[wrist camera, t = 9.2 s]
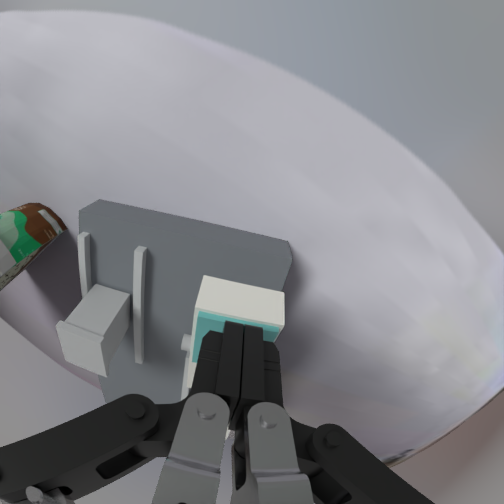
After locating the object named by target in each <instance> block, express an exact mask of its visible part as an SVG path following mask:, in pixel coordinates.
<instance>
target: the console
mask: <svg viewBox="0 0 504 504" xmlns="http://www.w3.org/2000/svg"><path fill="white" fill-rule="evenodd" d="M77 237H78V259H79V272H80V283H81V292H82V299H83V298H84V297H85V296H86V294H87V293H88V292H89V291H90V290H91V289H92V287H93V286H94V285H95V284H98V285H101V286H105V287H108V288H111V289H114V290H118V291H121V292H125V293H128V294H130V326H129V328H128V329H127V331H126V333H125V335H124V337H123V339H122V341H121V342H120V344H119V346H118V348H117V350H116V352H115V354H114V356H113V358H112V360H111V362H110V364H109V369H110V372H109V374H108V376H107V377H104V376H101V375H99V374H98V377H99V380H100V384H101V388H102V391H103V395H104V398H105V402H106V403H109V402H112V401H114V400H116V399H118V398H120V397H122V396H124V395H127V394H140V395H143V396H146V397H148V398H149V399H151V400H152V401H153V402H154V403H155V404H172V403H177V402H179V401H181V400H183V399H185V398H186V397H187V396H188V394H189V393H190V391H191V388H188V387H187V378H188V366H189V356H190V352H189V351H185V350H181V345H182V340H183V336H184V334H188V335H192V327H193V318H194V310H195V305H196V301H197V297H198V294H199V290H200V286H201V283H202V279H203V276H204V275H206V276H211V277H215V278H219V279H224V280H228V281H233V282H237V283H242V284H247V285H251V286H256V287H261V288H265V289H270V290H275V291H280V292H281V291H282V289H283V286H284V283H285V280H286V277H287V274H288V272H289V269H290V266H291V263H292V260H293V259H292V255H291V251H290V248H289V244H288V241H285V240H280V239H276V238H272V237H268V236H264V235H259V234H255V233H251V232H247V231H242V230H238V229H234V228H229V227H225V226H220V225H216V224H212V223H207V222H203V221H198V220H194V219H189V218H185V217H180V216H176V215H171V214H166V213H162V212H157V211H152V210H148V209H143V208H138V207H134V206H129V205H124V204H119V203H114V202H109V201H104V200H100V199H99V200H97V201H96V202H94V203H92V204H90V205H88V206H87V207H85V208H83V209H81V210H79V235H78V236H77Z"/></svg>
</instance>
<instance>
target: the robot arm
mask: <svg viewBox="0 0 504 504" xmlns="http://www.w3.org/2000/svg"><path fill="white" fill-rule="evenodd" d="M227 427H228V430H234V431H235V439H234V442H233V444H232V450H231V452H232V487H233V488H232V496H231V502H230V504H314V503H315V504H435V503H433V502H432V501H431V500H429V499H428V498H426V497H425V496H424V495H422V494H421V493H420V492H418V491H417V490H416V489H415V488H413V487H412V486H411V485H409V484H408V483H407V482H406V481H404V480H403V479H402V478H400V477H399V476H398V475H397V474H395V473H394V472H393V471H392V470H390V469H389V468H388V467H387V466H386V465H385V464H383V463H382V462H381V461H380V460H379V459H377V458H376V457H375V456H374V455H373V454H372V453H370V452H369V451H368V450H367V449H366V448H365V447H363V446H362V445H361V444H360V443H359V442H358V441H357V440H356V439H354V438H353V437H352V436H351V435H350V434H349V433H348V432H347V431H346V430H344V429H343V428H342V427H340V426H338V425H335V424H324V425H321V426H319V427H318V428H317V429H316V428H313V427H310V426H307V425H304V424H301V423H299V422H297V421H295V420H293V419H292V418H291V417H290V416H289V415H288V413H287V412H286V411H285V409H284V406H283V398H282V385H281V373H280V359H279V351H278V350H277V348H276V346H275V344H274V343H273V342H270V341H264V340H263V328H262V327H258V326H252V325H247V324H244V325H243V324H242V323H237V322H232V321H227V320H225V323H224V328H223V332H222V333H221V332H217V331H212V330H209V332H208V333H207V334H206V335H205V336H204V337H203V338H202V342H201V347H200V351H199V356H198V360H197V364H196V369H195V373H194V378H193V383H192V387H191V391H190V393H189V394H188V396H187V397H186V398H185V399H183V400H181V401H179V402H177V403H172V404H155V403H154V402H153V401H152V400H151V399H149V398H148V397H146V396H143V395H140V394H127V395H124V396H122V397H120V398H118V399H116V400H114V401H112V402H109V403H107V404H105V405H103V406H101V407H99V408H97V409H95V410H93V411H91V412H88V413H86V414H84V415H81V416H79V417H77V418H75V419H73V420H70V421H68V422H65V423H63V424H61V425H58V426H56V427H54V428H51V429H49V430H46V431H44V432H41V433H39V434H36V435H34V436H31V437H28V438H26V439H23V440H20V441H17V442H15V443H12V444H9V445H6V446H3V447H0V500H1V502H2V504H75V503H74V500H76V499H79V498H81V497H83V496H85V495H88V494H89V493H92V492H94V491H96V490H98V489H100V488H102V487H104V486H106V485H108V484H110V483H112V482H114V481H116V480H117V479H120V478H121V477H123V476H125V475H127V474H129V473H130V472H132V471H134V470H136V469H137V468H139V467H141V466H143V465H144V464H146V463H148V462H149V461H151V460H152V459H154V458H156V457H167V458H166V460H165V462H164V465H163V468H162V471H161V474H160V478H159V481H158V484H157V488H156V491H155V494H154V497H153V501H152V504H216V498H217V493H218V487H219V482H220V464H221V458H222V453H223V448H224V443H225V437H226V432H227Z"/></svg>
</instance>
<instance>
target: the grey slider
mask: <svg viewBox="0 0 504 504" xmlns="http://www.w3.org/2000/svg"><path fill="white" fill-rule="evenodd" d="M129 326H130V294H128V293H125V292H121V291H118V290H114V289H111V288H108V287H105V286H101V285H98V284H95V285H94V286H93V287H92V289H91V290H90V291H89V292H88V293H87V294H86V296H85V297H84V298H83V299H82V300H81V302H80V303H79V304H78V305H77V307H76V308H75V309H74V310H73V311H72V313H71V314H70V315H69V316H68V318H67V319H66V320H65V321H64V322H63V321H61V320H60V321H59V322H58V323H57V325H56V329H57V333H58V337H59V340H60V344H61V347H62V350H63V354H64V357H65V360H66V361H67V362H70V363H72V364H74V365H76V366H79V367H81V368H84V369H86V370H89V371H91V372H94V373H96V374H99V375H101V376H104V377H107V376H108V374H109V372H110V369H109V364H110V362H111V360H112V358H113V356H114V354H115V352H116V350H117V348H118V346H119V344H120V342H121V341H122V339H123V337H124V335H125V333H126V331H127V329H128V328H129Z"/></svg>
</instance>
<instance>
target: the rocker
mask: <svg viewBox="0 0 504 504" xmlns="http://www.w3.org/2000/svg"><path fill="white" fill-rule="evenodd" d="M225 320H227V321H232V322H237V323H242V324H243V325H244V324H247V325H252V326H258V327H262V328H263V340H264V341H270V342H273V343H275V341H276V339H277V338H278V336H279V334H280V332H281V331H282V329H283V327H284V326H285V312H284V292H280V291H275V290H270V289H265V288H261V287H256V286H251V285H247V284H242V283H237V282H233V281H228V280H224V279H219V278H215V277H211V276H206V275H204V276H203V279H202V283H201V286H200V290H199V294H198V297H197V301H196V305H195V310H194V318H193V327H192V335H188V334H184V336H183V340H182V345H181V350H185V351H189V352H190V356H189V366H188V378H187V387H188V388H191V387H192V383H193V378H194V373H195V369H196V364H197V360H198V356H199V351H200V347H201V342H202V338H203V337H204V336H205V335H206V334H207V333H208V332H209V330H212V331H217V332H221V333H222V332H223V328H224V323H225Z"/></svg>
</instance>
